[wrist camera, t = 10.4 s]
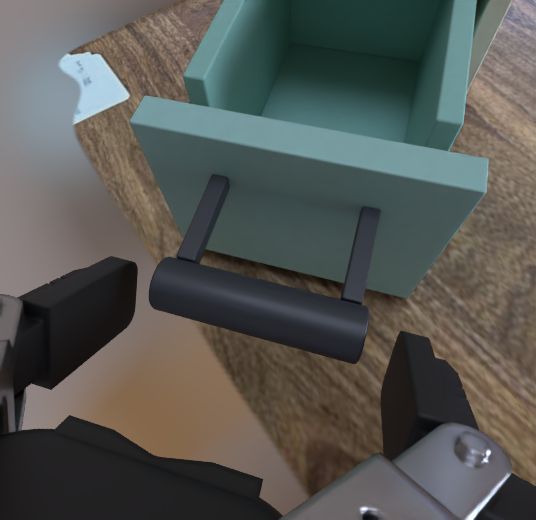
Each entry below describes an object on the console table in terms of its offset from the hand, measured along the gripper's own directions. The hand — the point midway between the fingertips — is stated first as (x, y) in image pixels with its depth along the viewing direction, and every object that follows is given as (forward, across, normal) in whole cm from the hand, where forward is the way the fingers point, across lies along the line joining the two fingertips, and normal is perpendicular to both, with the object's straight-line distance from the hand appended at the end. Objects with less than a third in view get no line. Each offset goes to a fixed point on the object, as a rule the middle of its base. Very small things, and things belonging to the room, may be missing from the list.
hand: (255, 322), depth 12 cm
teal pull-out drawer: (+10, 0, -3) cm, 11 cm away
